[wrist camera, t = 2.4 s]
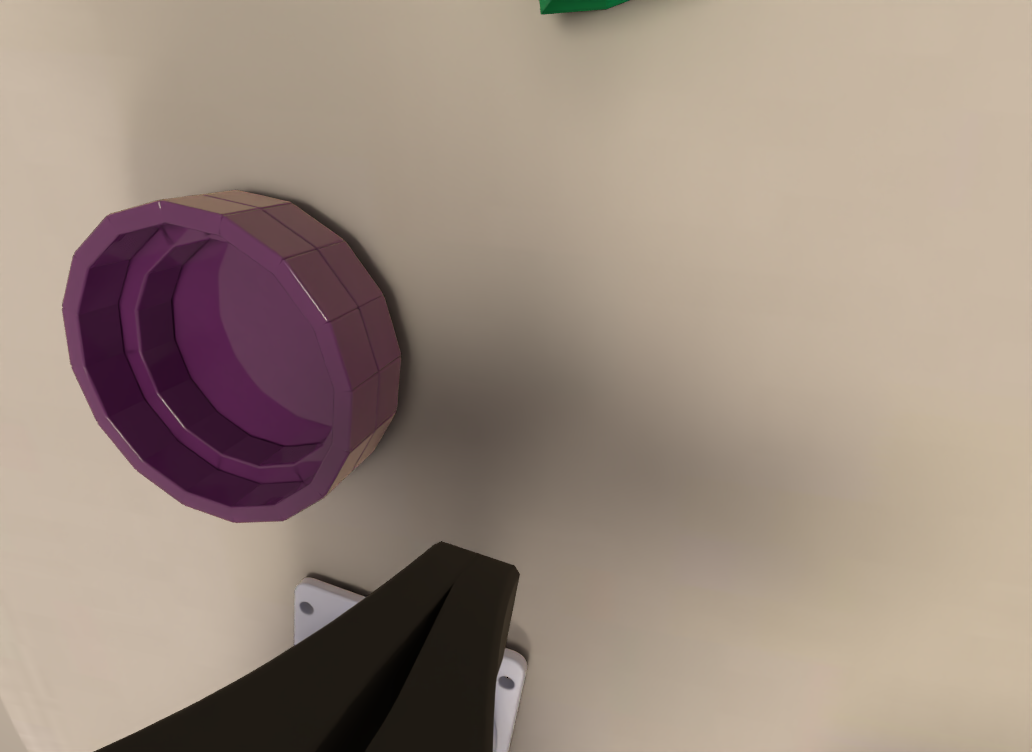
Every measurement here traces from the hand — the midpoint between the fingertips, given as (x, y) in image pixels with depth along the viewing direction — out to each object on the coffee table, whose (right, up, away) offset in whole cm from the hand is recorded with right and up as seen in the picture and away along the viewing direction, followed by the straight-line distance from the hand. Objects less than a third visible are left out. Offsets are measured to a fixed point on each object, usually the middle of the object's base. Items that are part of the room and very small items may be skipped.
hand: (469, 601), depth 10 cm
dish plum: (-6, +5, +8) cm, 11 cm away
